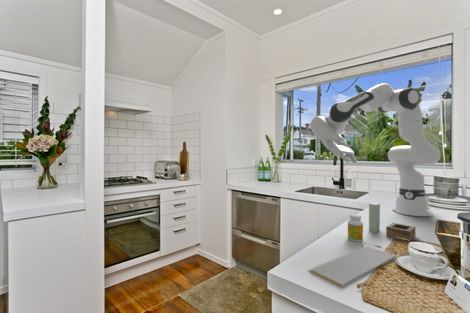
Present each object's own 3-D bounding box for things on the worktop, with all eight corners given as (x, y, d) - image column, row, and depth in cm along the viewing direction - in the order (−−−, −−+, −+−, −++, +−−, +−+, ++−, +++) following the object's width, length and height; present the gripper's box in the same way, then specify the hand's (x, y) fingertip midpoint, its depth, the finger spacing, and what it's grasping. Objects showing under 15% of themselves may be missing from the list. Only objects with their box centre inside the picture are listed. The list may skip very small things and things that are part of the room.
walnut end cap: (393, 231, 105) (393, 222, 105) (415, 236, 99) (415, 226, 99) (386, 236, 99) (386, 226, 99) (409, 241, 93) (409, 231, 93)
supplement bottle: (348, 240, 94) (348, 216, 93) (347, 236, 99) (347, 213, 98) (363, 242, 92) (364, 217, 91) (361, 238, 97) (362, 214, 96)
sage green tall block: (372, 228, 109) (372, 202, 109) (379, 230, 106) (379, 203, 106) (368, 230, 106) (369, 203, 106) (376, 232, 104) (376, 204, 104)
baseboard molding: (304, 271, 71) (342, 290, 61) (304, 261, 71) (342, 279, 61) (359, 247, 88) (396, 259, 78) (359, 240, 88) (396, 251, 78)
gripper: (329, 134, 111) (350, 156, 104) (345, 139, 126) (364, 158, 119) (319, 144, 114) (339, 166, 107) (336, 147, 129) (354, 167, 122)
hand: (352, 162), depth 113 cm, fingers open, 8 cm apart
